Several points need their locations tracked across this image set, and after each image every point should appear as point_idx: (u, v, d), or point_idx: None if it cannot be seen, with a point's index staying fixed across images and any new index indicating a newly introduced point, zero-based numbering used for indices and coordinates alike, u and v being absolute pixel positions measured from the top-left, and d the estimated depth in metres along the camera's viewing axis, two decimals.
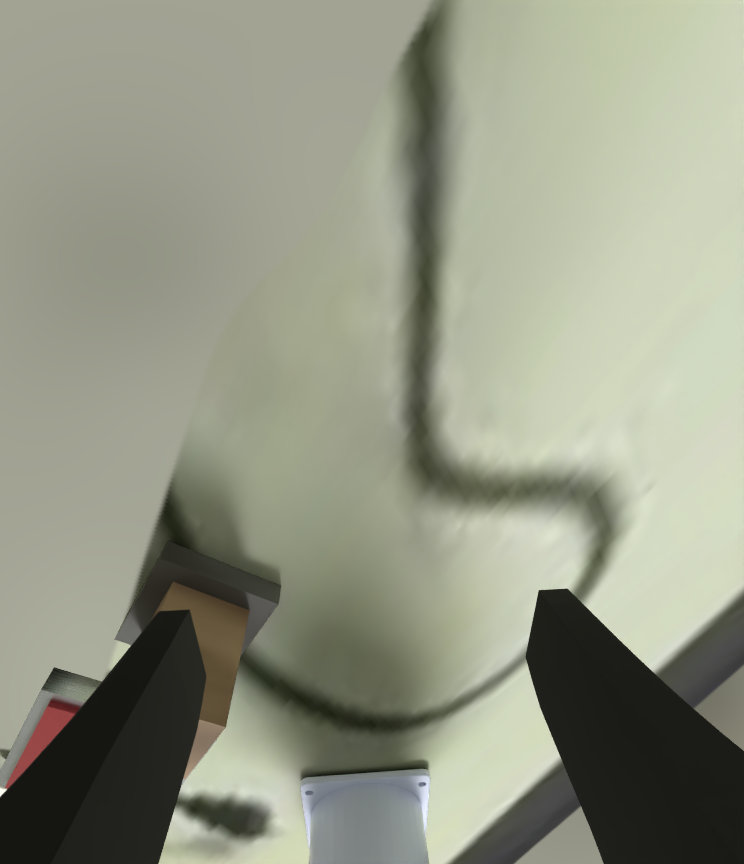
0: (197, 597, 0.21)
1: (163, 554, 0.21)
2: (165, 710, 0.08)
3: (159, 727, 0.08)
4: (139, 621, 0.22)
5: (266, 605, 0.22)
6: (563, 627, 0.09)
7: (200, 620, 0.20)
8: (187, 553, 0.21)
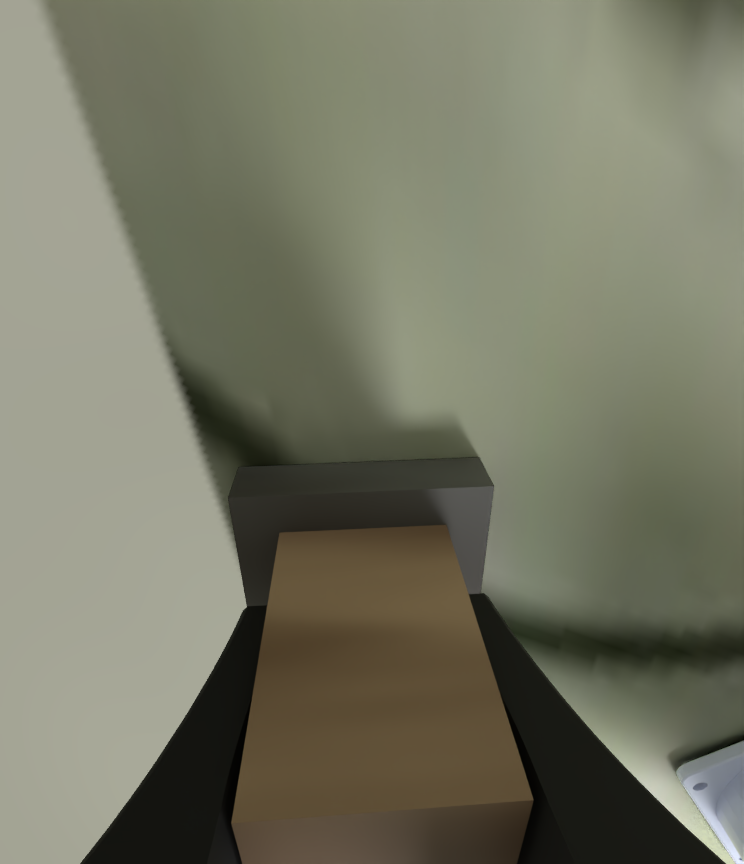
0: (335, 540, 0.10)
1: (233, 489, 0.10)
2: None
3: None
4: None
5: (473, 498, 0.10)
6: None
7: (357, 575, 0.09)
8: (280, 473, 0.11)
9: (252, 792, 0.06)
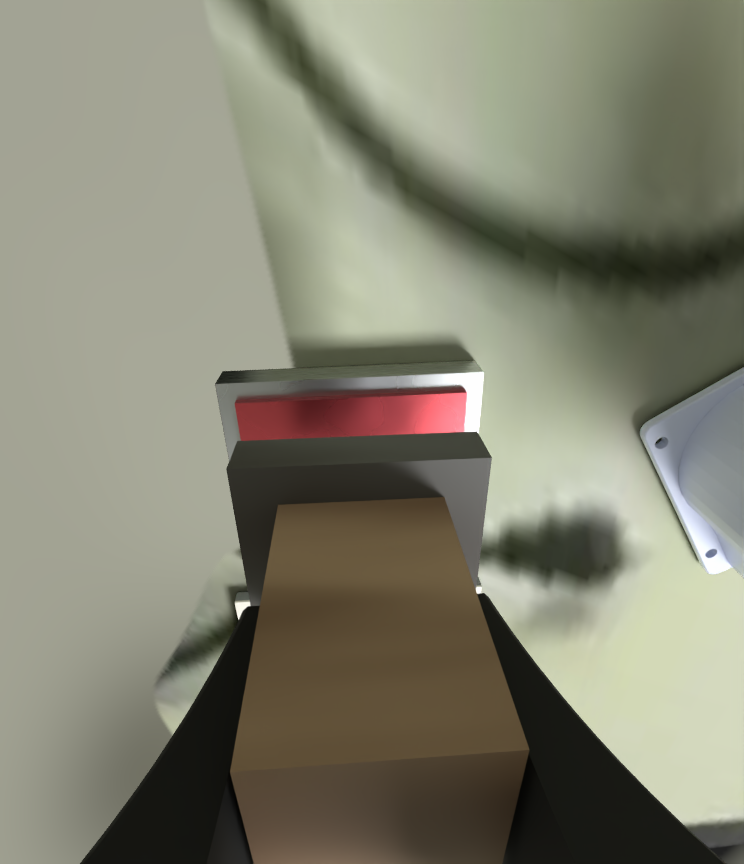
0: (334, 511, 0.10)
1: (231, 461, 0.10)
2: None
3: None
4: None
5: (470, 470, 0.10)
6: None
7: (355, 544, 0.09)
8: (279, 446, 0.11)
9: (250, 743, 0.06)
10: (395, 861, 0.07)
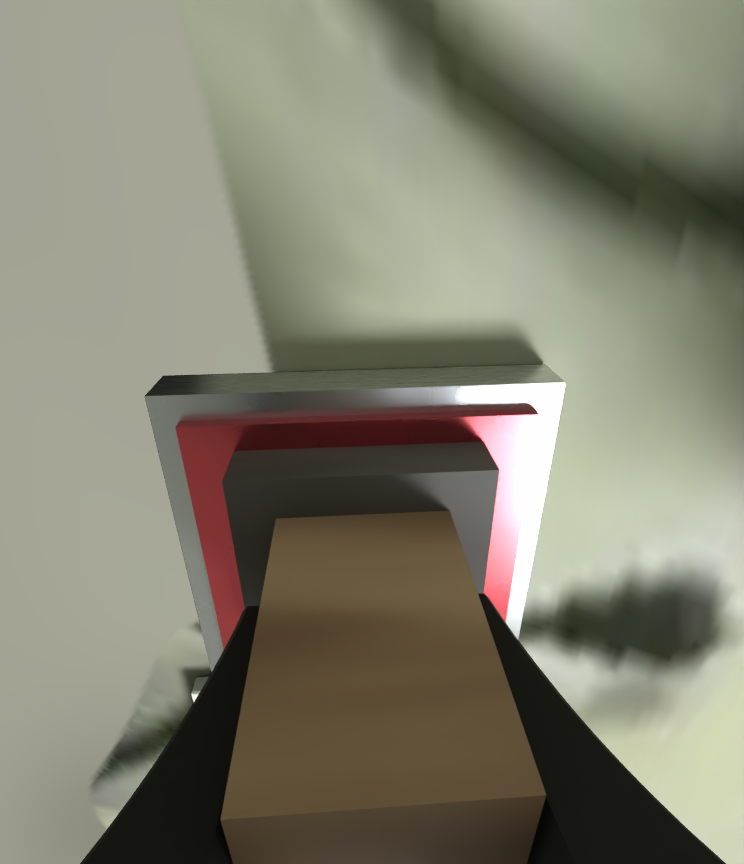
0: (334, 526, 0.10)
1: (227, 473, 0.10)
2: None
3: None
4: None
5: (477, 483, 0.10)
6: None
7: (357, 562, 0.09)
8: (276, 458, 0.10)
9: (243, 786, 0.06)
10: None
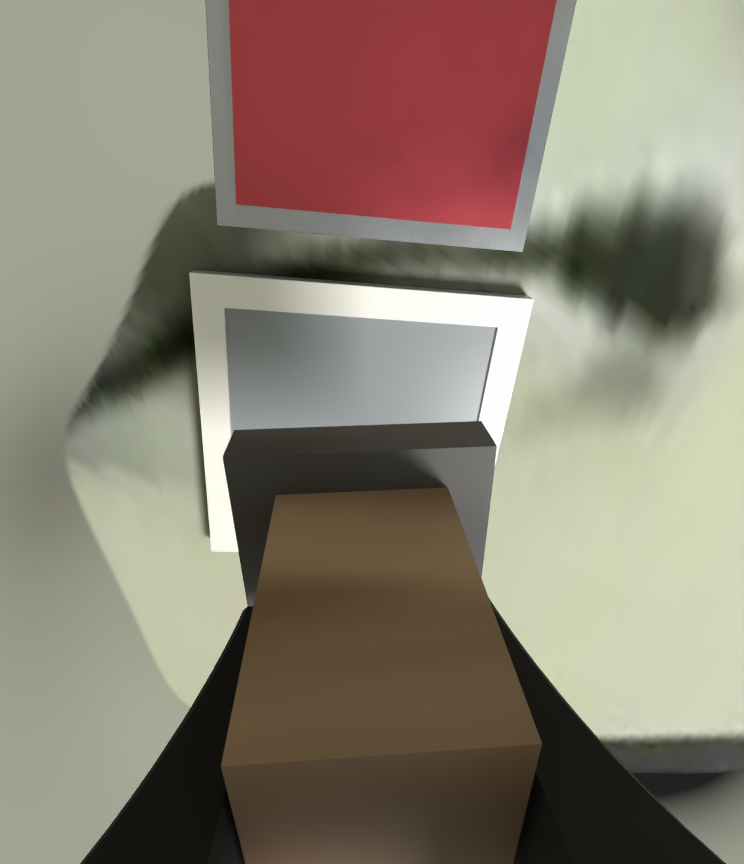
0: (333, 501, 0.10)
1: (228, 449, 0.10)
2: None
3: None
4: None
5: (475, 459, 0.10)
6: None
7: (356, 534, 0.09)
8: (276, 435, 0.10)
9: (243, 736, 0.06)
10: None
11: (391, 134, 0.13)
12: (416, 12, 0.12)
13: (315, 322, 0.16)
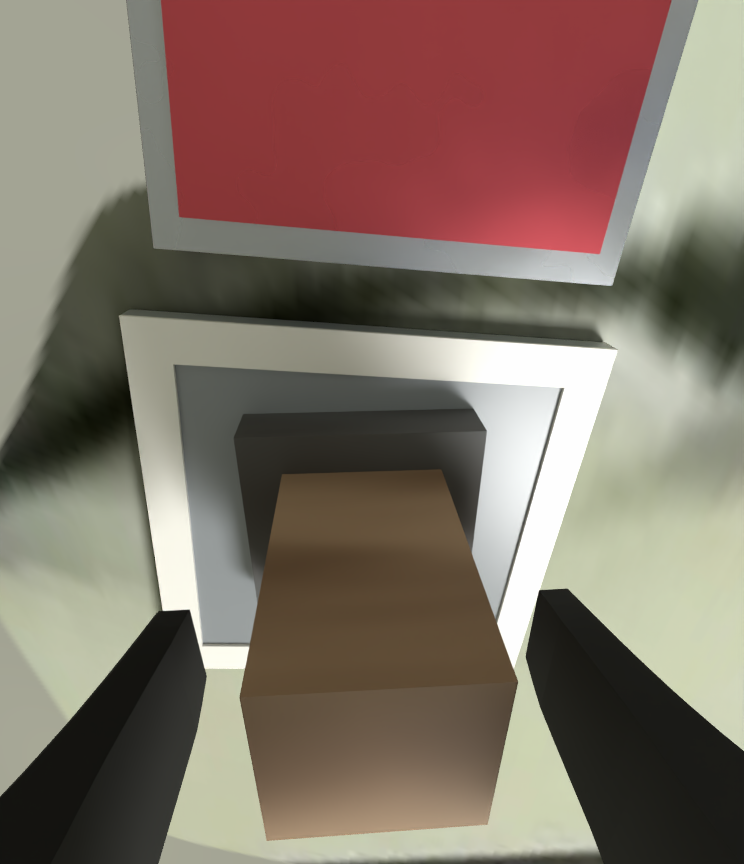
0: (335, 480, 0.11)
1: (238, 431, 0.11)
2: (165, 710, 0.08)
3: (159, 727, 0.08)
4: None
5: (466, 443, 0.11)
6: (563, 627, 0.09)
7: (356, 509, 0.10)
8: (283, 419, 0.11)
9: (258, 674, 0.06)
10: (391, 796, 0.07)
11: (423, 106, 0.08)
12: None
13: (305, 382, 0.11)
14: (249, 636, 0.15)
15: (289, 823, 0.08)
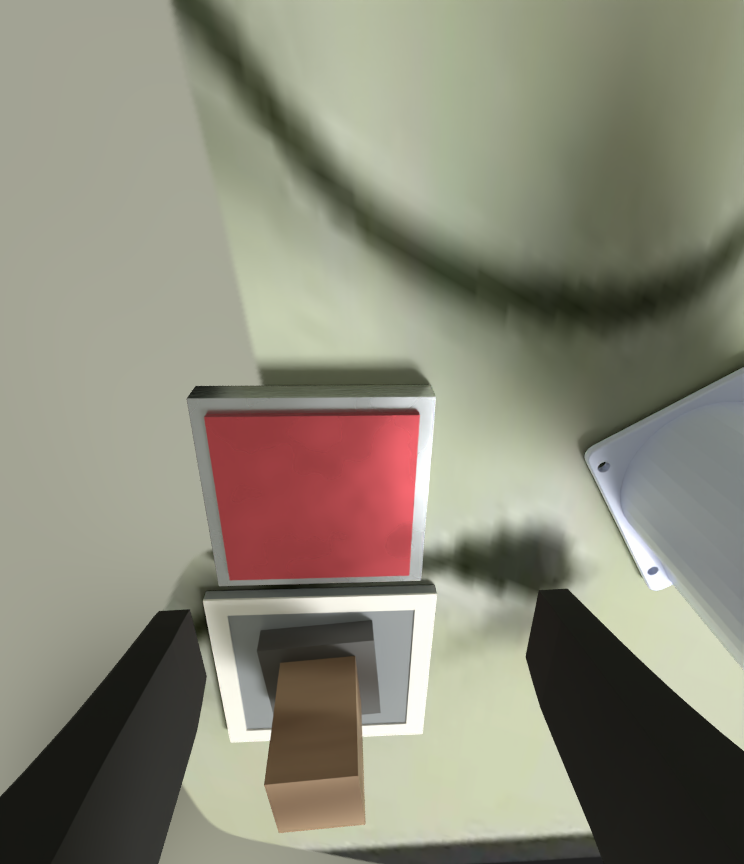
0: (304, 666, 0.23)
1: (258, 646, 0.23)
2: (165, 710, 0.08)
3: (158, 727, 0.08)
4: None
5: (365, 645, 0.23)
6: (563, 627, 0.09)
7: (312, 686, 0.22)
8: (279, 634, 0.24)
9: (270, 775, 0.19)
10: (323, 815, 0.20)
11: (323, 541, 0.20)
12: (330, 490, 0.19)
13: (289, 616, 0.24)
14: (271, 724, 0.27)
15: (286, 826, 0.20)
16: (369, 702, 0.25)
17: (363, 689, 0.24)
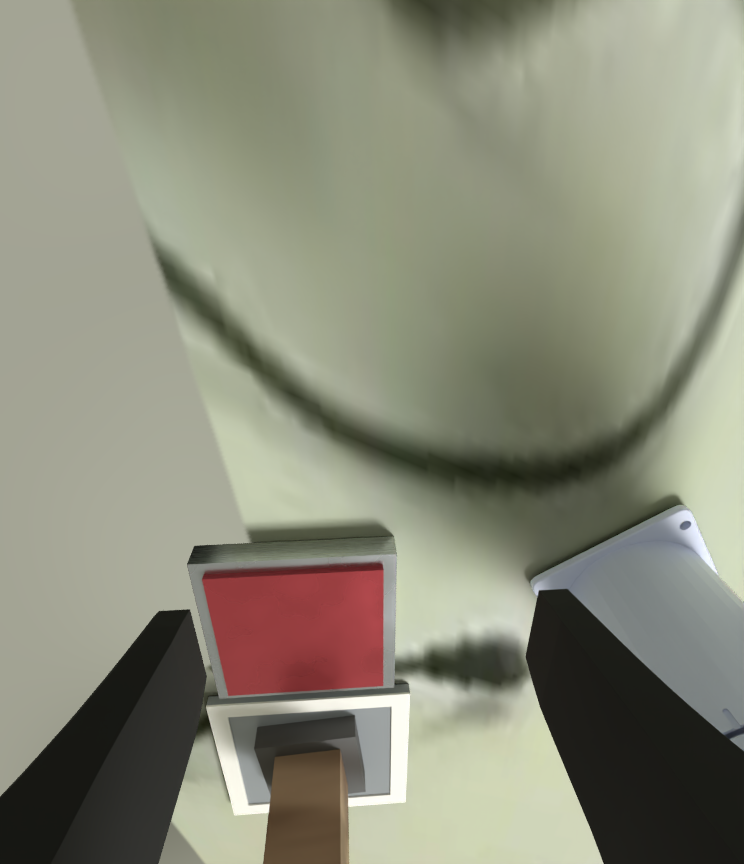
0: (296, 760, 0.26)
1: (255, 743, 0.26)
2: (165, 710, 0.08)
3: (159, 728, 0.08)
4: None
5: (348, 740, 0.26)
6: (563, 627, 0.09)
7: (302, 781, 0.25)
8: (273, 731, 0.27)
9: None
10: None
11: (307, 663, 0.24)
12: (310, 626, 0.23)
13: (281, 715, 0.27)
14: None
15: None
16: (355, 784, 0.28)
17: (349, 774, 0.28)
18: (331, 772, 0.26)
